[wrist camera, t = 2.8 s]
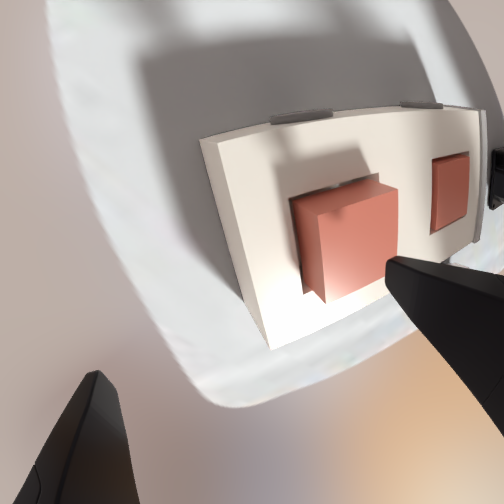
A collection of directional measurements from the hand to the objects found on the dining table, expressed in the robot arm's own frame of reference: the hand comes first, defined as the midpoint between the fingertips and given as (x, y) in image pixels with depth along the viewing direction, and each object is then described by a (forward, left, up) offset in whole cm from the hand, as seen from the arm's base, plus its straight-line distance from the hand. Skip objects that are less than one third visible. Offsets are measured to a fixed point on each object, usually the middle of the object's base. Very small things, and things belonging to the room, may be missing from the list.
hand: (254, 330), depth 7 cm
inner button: (-13, 0, -5) cm, 14 cm away
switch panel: (-9, 0, -7) cm, 11 cm away
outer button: (-5, 0, -3) cm, 6 cm away
